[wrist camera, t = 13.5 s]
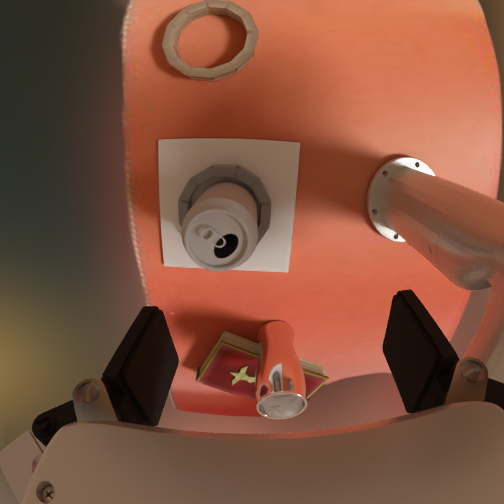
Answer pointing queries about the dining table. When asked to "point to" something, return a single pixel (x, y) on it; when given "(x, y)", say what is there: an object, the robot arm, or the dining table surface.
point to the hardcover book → (245, 368)
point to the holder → (237, 170)
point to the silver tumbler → (279, 373)
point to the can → (221, 227)
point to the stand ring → (200, 10)
